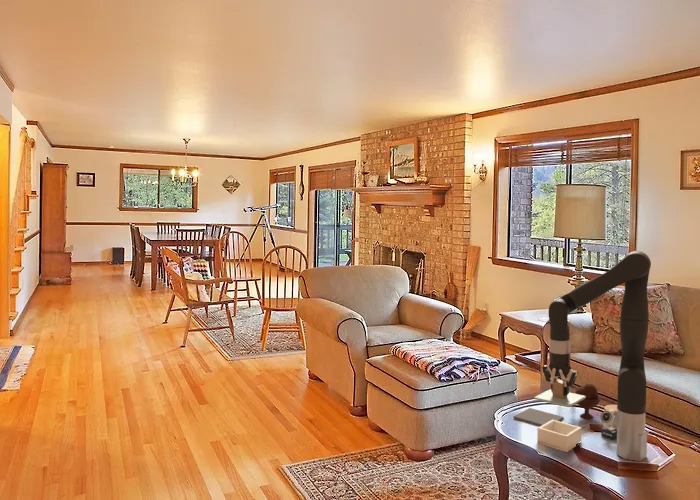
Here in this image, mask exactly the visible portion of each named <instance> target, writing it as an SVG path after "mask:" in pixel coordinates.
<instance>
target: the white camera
mask: <svg viewBox="0 0 700 500" xmlns="http://www.w3.org/2000/svg"><path fill="white" fill-rule="evenodd" d="M617 408H618V404H607V405H605V406H604V407H603V412H604V411H606V410H608V409H613V410H616V411H617ZM614 417H615V413H614V414H613V419H614ZM612 423H613V421H612V422H611V423H610V426H612ZM616 428H617V427H616Z"/></svg>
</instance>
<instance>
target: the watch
mask: <svg viewBox="0 0 700 500" xmlns="http://www.w3.org/2000/svg"><path fill="white" fill-rule="evenodd" d="M614 413H615V417H614V419H613V414H614ZM600 421H601V422H600V423H601V424H602V426H603V427H601V429H600V432H601V437H604V438H607V439H609V440H611V441H617V429H616V427H617V411H616V410H613V409H608V410H606V411H604V410H603V412H602V413H601V414H600ZM612 421H613V423H612V426H611V427H610V426H609V425H610V423H611V422H612Z"/></svg>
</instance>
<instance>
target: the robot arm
mask: <svg viewBox="0 0 700 500" xmlns="http://www.w3.org/2000/svg"><path fill="white" fill-rule="evenodd" d="M651 265H652V261H651V259H650V257H649V255H647V254H646V253H645V252H643V251H639V250H634V251H630V252H629V253H627V254H626V255H625V256H624V257H623V259H622V260H620V261H619V262H618V263H617V264H616V265H614V266H613V267H611V268H610V269H609V270H607V271H605V272H603V273H602V274H600V275H598V276H596V277H594V278H591V279H590V280H588V281H586V282H584V283H582V284H581V285H578V286H577V287H576V288H573V289H572V290H571V291H570V292H568V293H566V294H564V295H561V296H560V297H558V298H556V299H554V300H553V301H552V302H551V303H550V304H549V306H548V322H549V326H550V327H549V334H550V335H549V338H550V339H549V345H548V346H549V364H548V365H547V364H546V365H543V366H542V372H543V375H544V377H545V381H546V382H548V383H550V389H551V391H552V393H553V381H555V380H557V379H558V378H561V379H560V380H562V381H563V384H564V396H567V395H568V394H569V392H570V387H572V386H573V385H575V383H576V380H577V377H578V374H579V371H578V370H573V369H572V367H571V342H570V340H571V338H570V334H571V333H570V327H569V325H568V320H569V319H568V318H569V317H568V316H569V314H570V313H572V312H573V311H575V310H577V309H578V308H581V307H585V306H586V305H588V304H589V303H591V302H593V301H595V300H597V299H598V298H600V297H601V296H603V295H605V294H607V293H608V292H609V291H612V290H614V288H617V287H619V286H621V285H623V284H624V292H623V297H622V301H621V302H622V303H621V305H620V306H621V307H620V316H619V317H620V318H619V333H620V334H619V335H620V344H621V359H620V364H619V371H618V375H617V400H616V401H617V404H616V405H618V408H617V440H616V455H617V454H618V455H619V456H621V457H623V458H622V459H624V458H626V459H625V460H627V459H630V460H629V461H632V460H635V461H636V462H640V461H641V462H642V461H644V460H645V458H646V457H647V455H648V454H647V453H648V449H647V448H648V432H647V430H646V407H647V376H646V369H645V348H646V344H647V340H648V331H649V315H650V314H649V300H648V298H649V297H648V283H649V277H650V272H651V271H650V270H651V267H652V266H651ZM569 374H570V376H569ZM569 377H570V378H569ZM618 455H617V456H618ZM619 456H618V457H619ZM621 457H620V458H621ZM635 461H634V462H635Z"/></svg>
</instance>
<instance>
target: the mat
mask: <svg viewBox="0 0 700 500" xmlns="http://www.w3.org/2000/svg"><path fill="white" fill-rule="evenodd" d="M513 418H514V420H517V421H519V422H520V421H521V422H524V423H528V424H531V425H535V426H538V427H540V426H542V425H544V424H545V423H547V422H549V421H551V420H556V421H560V422H563V421H564V419H565V418H564V416H562V415H558V414H554V413H551V412H547V411H544V410H539V409H535V408H532V407H529V408H526V409H524V410H522V411H521V412H518V414H517V413H516V414H515V415H514V416H513Z"/></svg>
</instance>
